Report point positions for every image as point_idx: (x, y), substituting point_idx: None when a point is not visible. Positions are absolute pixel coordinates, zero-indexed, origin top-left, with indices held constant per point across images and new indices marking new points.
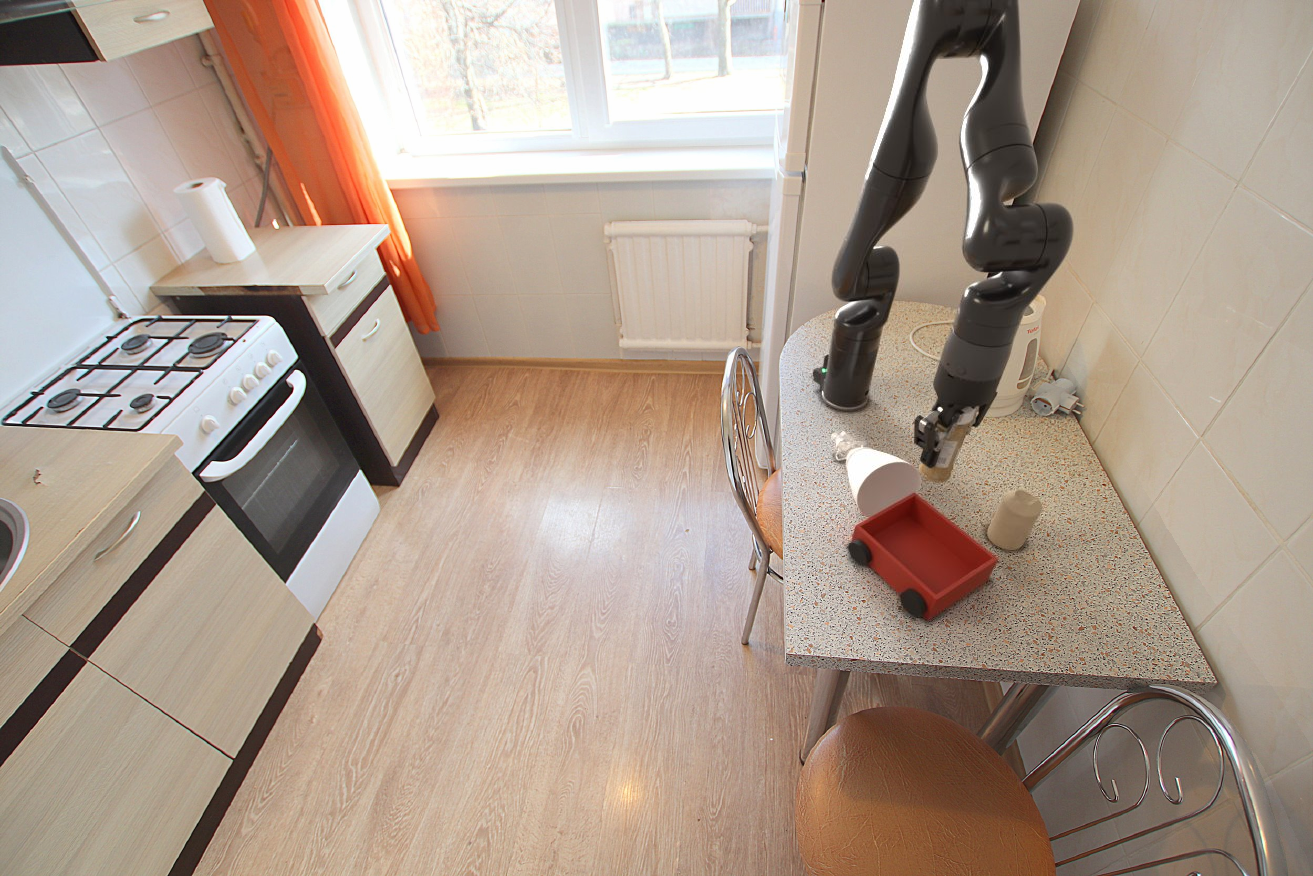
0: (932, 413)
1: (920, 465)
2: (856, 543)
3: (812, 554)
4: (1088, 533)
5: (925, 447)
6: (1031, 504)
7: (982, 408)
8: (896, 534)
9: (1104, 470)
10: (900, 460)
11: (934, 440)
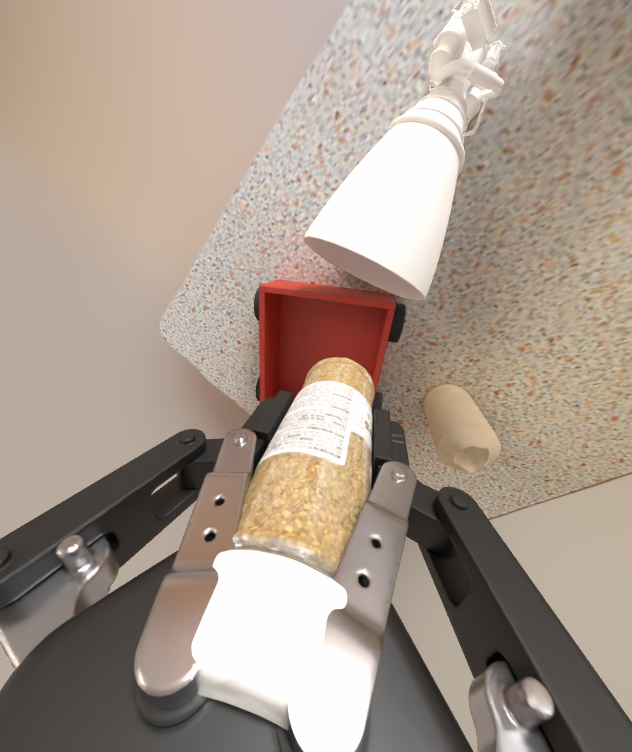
0: (11, 662)
1: (321, 364)
2: (255, 300)
3: (229, 253)
4: (523, 462)
5: (168, 483)
6: (461, 467)
7: (464, 647)
8: (341, 311)
9: None
10: (397, 262)
11: (167, 524)
